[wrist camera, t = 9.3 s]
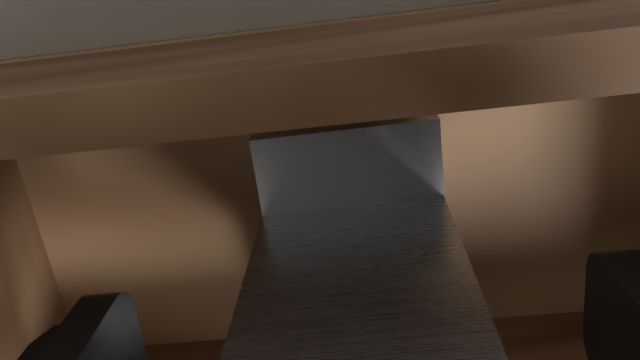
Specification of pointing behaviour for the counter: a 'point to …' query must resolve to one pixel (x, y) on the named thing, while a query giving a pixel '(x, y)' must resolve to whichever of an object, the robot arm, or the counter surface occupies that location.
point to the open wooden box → (307, 112)
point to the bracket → (357, 251)
